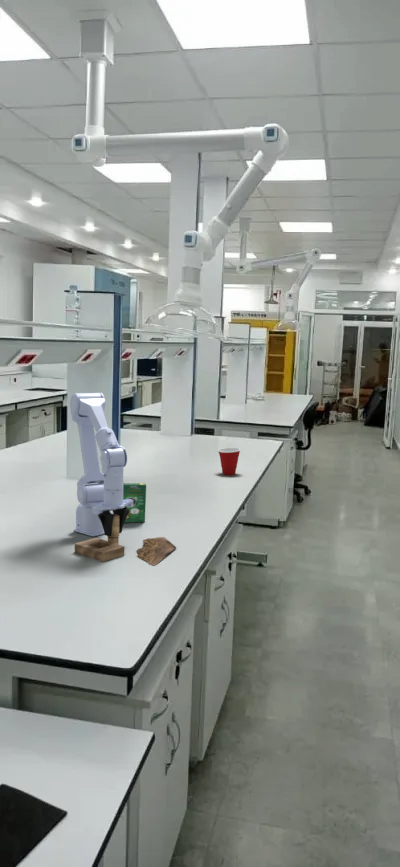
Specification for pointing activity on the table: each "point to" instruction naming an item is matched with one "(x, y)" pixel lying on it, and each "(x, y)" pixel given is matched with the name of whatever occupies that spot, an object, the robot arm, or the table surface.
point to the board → (99, 549)
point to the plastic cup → (229, 460)
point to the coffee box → (135, 501)
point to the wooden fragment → (155, 550)
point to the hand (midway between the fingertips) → (113, 533)
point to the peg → (115, 530)
